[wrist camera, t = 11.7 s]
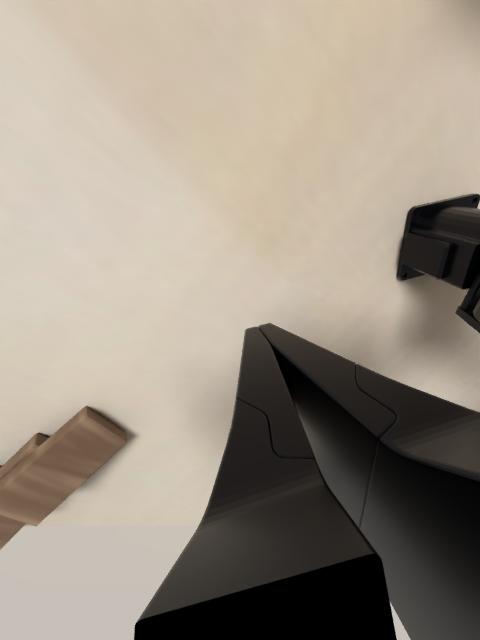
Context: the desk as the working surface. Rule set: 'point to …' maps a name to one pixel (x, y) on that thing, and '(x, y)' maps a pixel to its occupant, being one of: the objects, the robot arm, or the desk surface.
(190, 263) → the desk surface
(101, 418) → the domino
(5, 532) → the domino
